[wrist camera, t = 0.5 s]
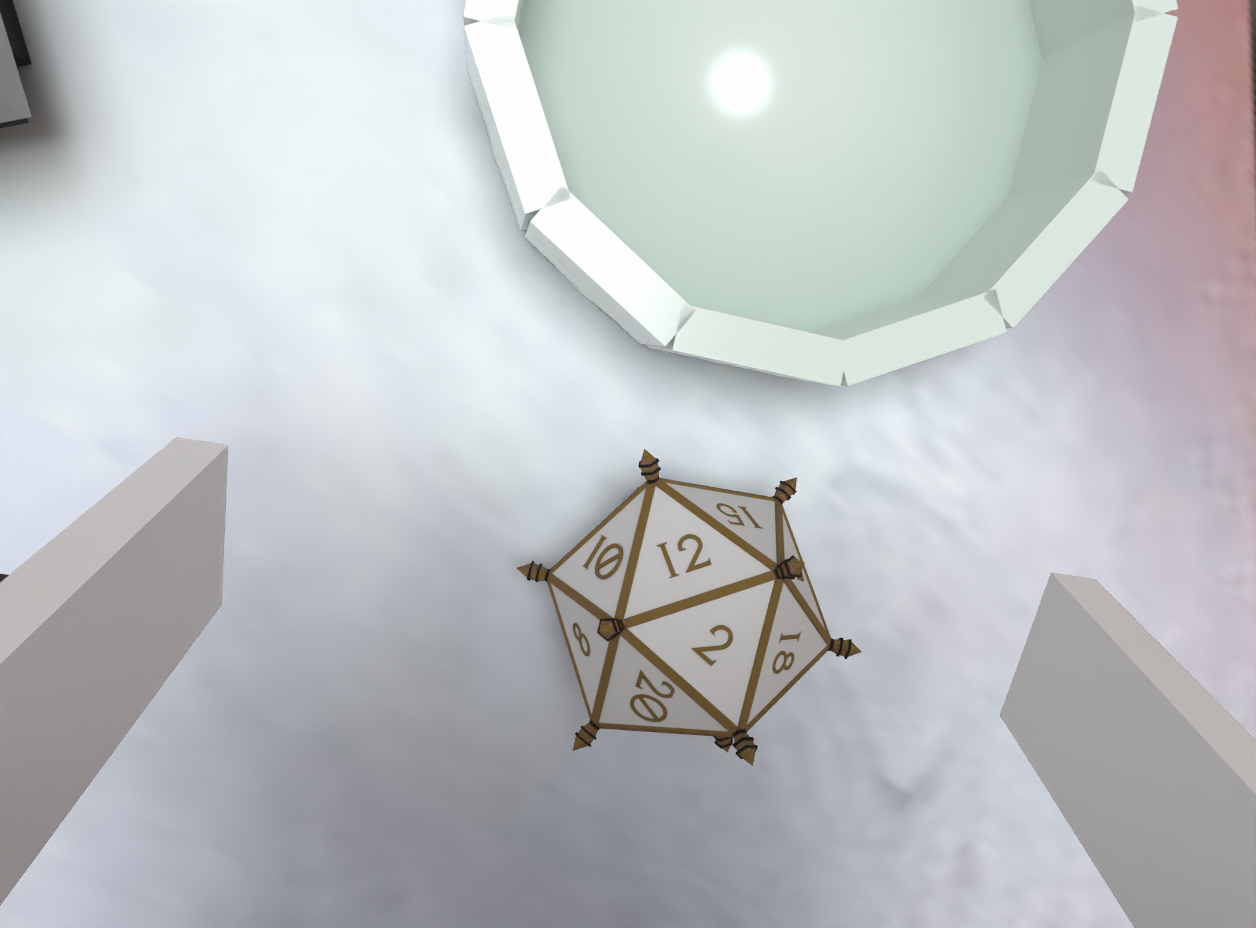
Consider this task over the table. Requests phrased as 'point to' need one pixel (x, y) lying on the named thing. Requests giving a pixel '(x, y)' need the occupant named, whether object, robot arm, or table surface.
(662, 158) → the bowl
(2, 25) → the game console
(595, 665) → the game die
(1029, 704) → the robot arm
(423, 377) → the table surface
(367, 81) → the table surface
